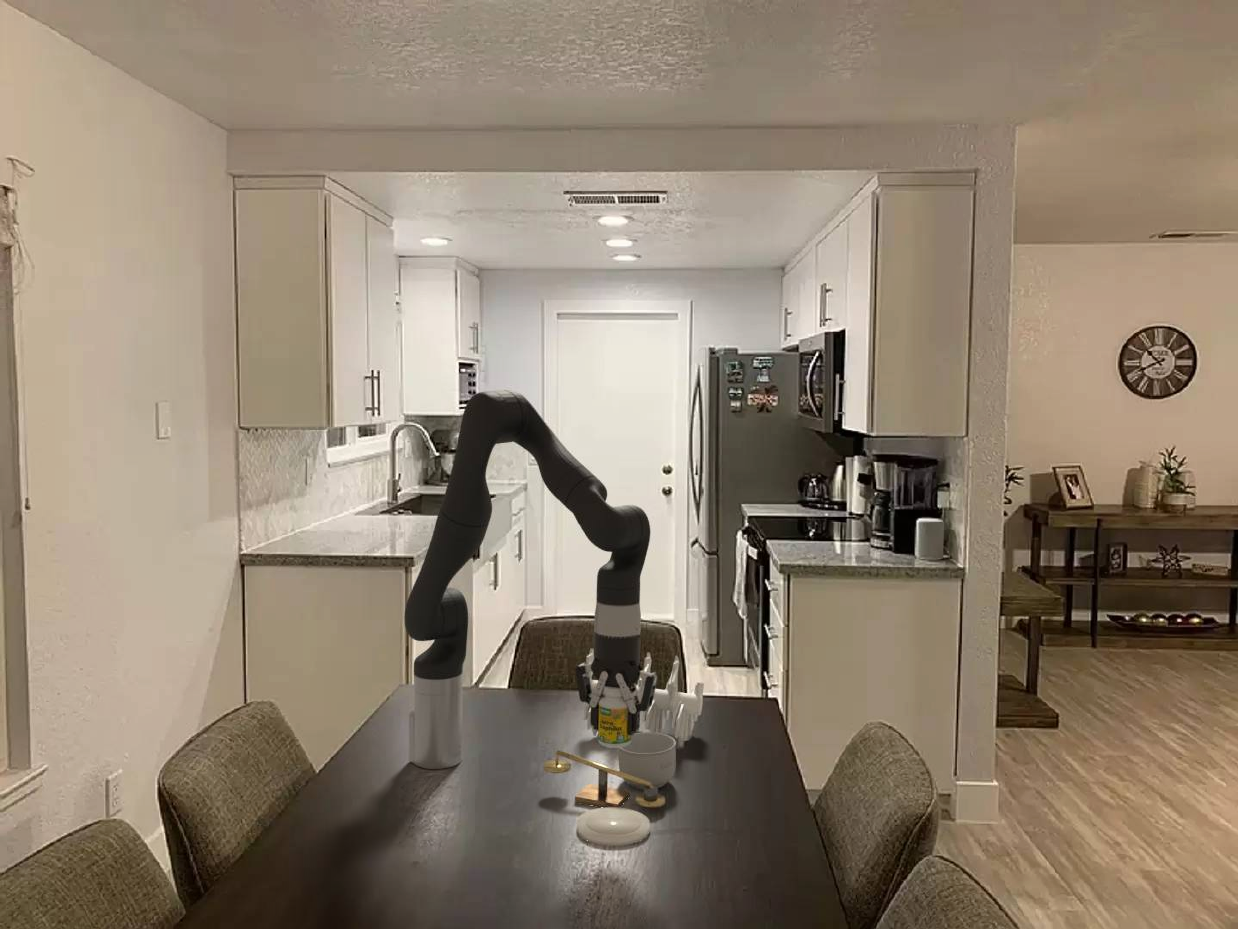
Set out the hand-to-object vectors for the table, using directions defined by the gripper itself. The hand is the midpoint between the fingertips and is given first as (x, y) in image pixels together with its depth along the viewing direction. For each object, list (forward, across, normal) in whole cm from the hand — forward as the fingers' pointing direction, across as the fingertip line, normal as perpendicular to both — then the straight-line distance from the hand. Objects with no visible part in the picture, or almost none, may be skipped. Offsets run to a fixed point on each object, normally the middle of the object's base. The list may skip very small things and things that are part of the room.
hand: (614, 730), depth 163 cm
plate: (+17, 0, 0) cm, 17 cm away
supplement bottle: (+2, 0, 0) cm, 2 cm away
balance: (+17, -6, +10) cm, 20 cm away
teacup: (+17, -2, +22) cm, 28 cm away
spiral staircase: (+17, -11, +43) cm, 47 cm away
